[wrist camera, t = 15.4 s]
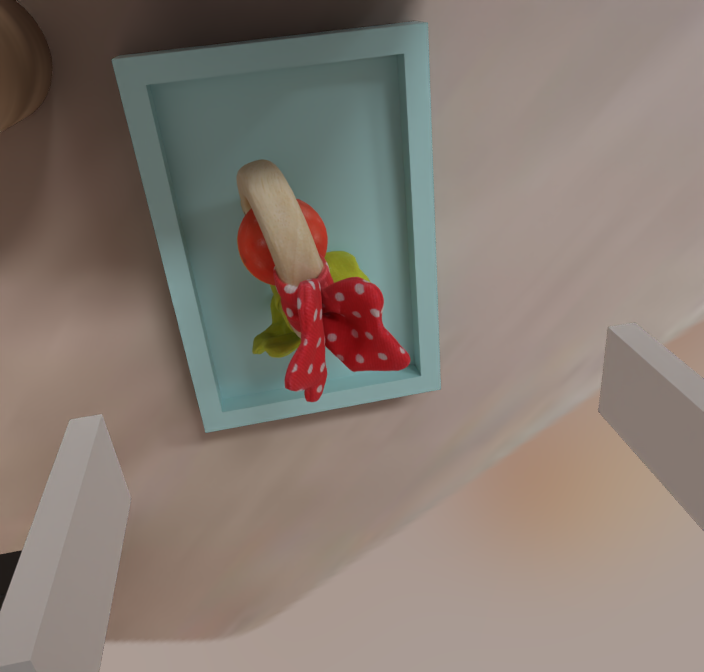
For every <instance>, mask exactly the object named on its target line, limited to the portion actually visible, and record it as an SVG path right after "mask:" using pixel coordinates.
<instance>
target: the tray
mask: <svg viewBox="0 0 704 672" xmlns="http://www.w3.org/2000/svg"><path fill="white" fill-rule="evenodd" d="M111 60H112V64H113V68H114V72H115V76H116V80H117V84H118V88H119V92H120V96H121V100H122V104H123V108H124V112H125V116H126V120H127V124H128V128H129V132H130V136H131V139H132V143H133V147H134V151H135V155H136V159H137V163H138V167H139V171H140V175H141V179H142V183H143V187H144V191H145V195H146V199H147V203H148V207H149V211H150V215H151V219H152V223H153V227H154V231H155V235H156V238H157V242H158V246H159V250H160V254H161V258H162V262H163V266H164V270H165V274H166V278H167V282H168V286H169V290H170V294H171V298H172V302H173V306H174V310H175V314H176V318H177V322H178V326H179V330H180V334H181V338H182V341H183V345H184V349H185V353H186V357H187V361H188V365H189V369H190V373H191V377H192V381H193V385H194V389H195V393H196V397H197V401H198V405H199V409H200V413H201V417H202V421H203V425H204V429H205V433H208V432H213V431H219V430H224V429H230V428H235V427H240V426H246V425H251V424H257V423H262V422H267V421H273V420H278V419H284V418H289V417H294V416H300V415H305V414H311V413H316V412H321V411H327V410H332V409H338V408H343V407H348V406H354V405H359V404H365V403H370V402H375V401H381V400H386V399H392V398H397V397H402V396H408V395H413V394H419V393H424V392H429V391H435V390H440V389H441V378H440V350H439V322H438V294H437V266H436V238H435V210H434V181H433V153H432V125H431V97H430V69H429V41H428V22H418V21H411V22H402V23H394V24H385V25H377V26H368V27H359V28H351V29H342V30H334V31H325V32H316V33H308V34H299V35H291V36H282V37H273V38H265V39H256V40H248V41H239V42H230V43H222V44H213V45H205V46H196V47H187V48H179V49H170V50H161V51H153V52H144V53H136V54H127V55H119V56H117V57H115V58H113V59H111ZM261 159H264V160H268V161H271V162H272V163H274V164H275V165H276V166H277V167H278V168H279V170H280V171H281V172H282V174H283V175H284V177H285V178H286V180H287V182H288V184H289V186H290V187H291V189H292V191H293V193H294V195H295V197H296V199H300V200H302V201H304V202H305V203H307V204H308V205H310V206H311V207H312V208H313V209H314V210H315V211H316V212H317V213H318V214H319V216H320V217H321V219H322V221H323V222H324V225H325V228H326V231H327V236H328V244H327V251H326V252H331V251H345V252H348V253H350V254H352V255H353V256H354V257H355V259H356V261H357V263H358V266H359V268H360V270H362V272H363V273H364V274H365V275H366V276H367V277H368V278H369V280H370V282H371V283H373V284H375V285H376V286H377V287H378V288H379V289H380V290H381V292H382V294H383V298H384V309H383V312H382V322H383V325H384V327H385V329H387V330H388V331H389V332H390V333H391V334H392V336H393V337H394V338H395V339H396V340H397V341H398V343H399V344H400V345H401V346H402V347H403V348H404V349H405V350H406V351H407V353H408V354H409V356H410V363H409V365H408V366H407V367H406V368H404V369H402V370H399V371H356V372H352V371H351V370H350V369H349V368H347V367H346V366H345V365H344V364H343V363H342V362H341V361H340V360H339V359H338V358H337V357H336V356H335V355H334V354H333V353H332V352H331V351H330V350H329V349H328V348H327V347H326V346H325V362H326V368H327V378H326V383H325V386H324V390H323V393H322V395H321V397H320V398H319V400H318V401H316V402H307V401H306V399H305V395H304V391H305V390H303V391H298V392H296V391H291V390H288V389H286V388H285V384H284V380H285V375H286V371H287V368H288V365H289V363H290V361H291V359H292V357H293V355H294V354H295V352H296V350H297V349H296V350H295V351H293V352H292V353H290V354H289V355H287V356H284V357H281V358H274V357H270V356H269V355H268V353H267V352H266V351H265V352H263V353H262V354H253V352H252V348H253V340H254V338H255V337H256V336H257V335H259V334H260V333H262V332H263V331H265V330H266V329H267V328H268V327H269V326H270V325H271V324H272V315H271V308H270V304H271V300H272V297H273V295H274V294H273V292H272V290H271V287H270V284H267V283H264V282H262V281H260V280H258V279H257V278H256V277H254V276H253V275H252V274H251V273H250V272H249V271H248V270H247V268H246V267H245V266H244V264H243V262H242V260H241V257H240V254H239V251H238V245H237V235H238V230H239V227H240V224H241V222H242V220H243V218H244V216H245V215H244V213H243V210H242V207H241V199H240V196H239V192H238V187H237V180H236V176H237V173H238V171H239V169H240V168H241V167H242V166H244V165H245V164H247V163H250V162H253V161H256V160H261Z"/></svg>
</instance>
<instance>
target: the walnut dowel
mask: <svg viewBox="0 0 704 672" xmlns="http://www.w3.org/2000/svg"><path fill="white" fill-rule="evenodd" d="M51 79H52V60H51V55H50V50H49V47H48V44H47V41H46V39H45V37H44V35H43V33H42V31H41V29H40V28H39V26H38V25H37V23H36V22H35V20H34V19H33V18H32V17H31V15H30V14H29V13H28V12H27V11H26V10H25V9H24V8H23V7H22V6H21V5H20V4H18V3H17V2H16V1H15V0H0V133H1V132H2V131H4V130H6V129H7V128H9V127H11V126H12V125H14V124H16V123H17V122H19V121H21V120H22V119H24V118H26V117H27V116H29V115H30V114H32V113H33V112H34V111H35V110H36V109H37V108H38V107H39V106H40V105H41V104H42V102H43V101H44V99H45V97H46V95H47V93H48V91H49V88H50V85H51Z"/></svg>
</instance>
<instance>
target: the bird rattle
mask: <svg viewBox="0 0 704 672" xmlns="http://www.w3.org/2000/svg"><path fill="white" fill-rule="evenodd" d="M236 180H237V187H238V192H239V196H240V199H241V207H242V210H243V213H244V215H245V216H244V218H243V220H242V222H241V224H240V227H239V230H238V235H237V245H238V251H239V254H240V257H241V260H242V262H243V264H244V266H245V267H246V268H247V270H248V271H249V272H250V273H251V274H252V275H253V276H254V277H256V278H257V279H258V280H260V281H262V282H264V283H267V284H270V287H271V290H272V292H273V294H274V295H273V297H272V300H271V304H270V308H271V315H272V324H271V325H270V326H269V327H268V328H267V329H266V330H265V331H263V332H262V333H260V334H259V335H257V336H256V337H255V338H254V340H253V348H252V352H253V354H262V353H263V352H265V351H266V352H267V353H268V355H269V356H270V357H274V358H281V357H284V356H287V355H289V354H290V353H292V352H293V351H295V350H296V349H297V350H296V352H295V354H294V355H293V357H292V359H291V361H290V363H289V365H288V368H287V371H286V375H285V380H284V384H285V388H286V389H288V390H291V391H296V392H298V391H303V390H305V391H304V395H305V399H306V401H307V402H316V401H318V400H319V398H320V397H321V395H322V393H323V390H324V386H325V383H326V378H327V368H326V362H325V346H326V347H327V348H328V349H329V350H330V351H331V352H332V353H333V354H334V355H335V356H336V357H337V358H338V359H339V360H340V361H341V362H342V363H343V364H344V365H345V366H346V367H347V368H349V369H350V370H351V371H352V372H356V371H399V370H402V369H404V368H406V367H407V366H408V365H409V363H410V356H409V354H408V353H407V351H406V350H405V349H404V348H403V347H402V346H401V345H400V344H399V343H398V341H397V340H396V339H395V338H394V337H393V336H392V334H391V333H390V332H389V331H388V330H387V329H385V327H384V325H383V322H382V312H383V309H384V298H383V294H382V292H381V290H380V289H379V288H378V287H377V286H376V285H375V284H373V283H371V282H370V280H369V278H368V277H367V276H366V275H365V274H364V273H363V272H362V270H360V268H359V266H358V263H357V261H356V259H355V257H354V256H353V255H352V254H350V253H348V252H345V251H331V252H326V251H327V244H328V236H327V231H326V228H325V225H324V222H323V221H322V219H321V217H320V216H319V214H318V213H317V212H316V211H315V210H314V209H313V208H312V207H311V206H310V205H308V204H307V203H305V202H304V201H302V200H300V199H296V197H295V195H294V193H293V191H292V189H291V187H290V186H289V184H288V182H287V180H286V178H285V177H284V175H283V174H282V172H281V171H280V170H279V168H278V167H277V166H276V165H275V164H274V163H272V162H271V161H268V160H264V159H261V160H256V161H253V162H250V163H247V164H245V165H244V166H242V167H241V168H240V169H239V171H238V173H237V176H236Z"/></svg>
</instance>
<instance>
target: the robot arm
mask: <svg viewBox="0 0 704 672" xmlns="http://www.w3.org/2000/svg"><path fill="white" fill-rule="evenodd" d="M598 412H599V413H600V414H601V415H602V416H603V417H604V419H605V420H606V421H607V422H608V423H609V424H610V425H611V426H612V428H613V429H614V430H615V431H616V432H617V433H618V435H619V436H620V437H621V438H622V439H623V440H624V441H625V442H626V444H627V445H628V446H629V447H630V448H631V449H632V450H633V452H634V453H635V454H636V455H637V456H638V457H639V458H640V459H641V461H642V462H643V463H644V464H645V465H646V466H647V467H648V469H650V471H651V472H652V473H653V474H654V475H655V476H656V478H657V479H658V480H659V481H660V482H661V483H662V484H663V485H664V487H665V488H666V489H667V490H668V491H669V492H670V494H672V496H673V497H674V498H675V499H676V500H677V501H678V503H679V504H680V505H681V506H682V507H683V508H684V509H685V511H686V512H687V513H688V514H689V515H690V516H691V517H692V519H693V520H694V521H695V522H696V523H697V524H698V525H699V526H700V528H701V529H702V530H703V531H704V378H703V377H701V376H700V375H699V374H698V373H696V372H695V371H694V370H693V369H691V368H690V367H689V366H688V365H687V364H685V363H684V362H683V361H682V360H680V359H679V358H678V357H677V356H676V355H674V354H673V353H672V352H671V351H669V350H668V349H667V348H666V347H664V346H663V345H662V344H661V343H660V342H658V341H657V340H656V339H655V338H653V337H652V336H651V335H650V334H649V333H647V332H646V331H645V330H644V329H642V328H641V327H640V326H639V325H637V324H636V323H635V322H634V323H628V324H622V325H617V326H611V327H608V330H607V339H606V347H605V356H604V365H603V374H602V382H601V391H600V400H599V408H598ZM130 503H131V496H130V493H129V490H128V487H127V484H126V481H125V479H124V476H123V473H122V470H121V467H120V464H119V461H118V458H117V456H116V453H115V450H114V447H113V444H112V441H111V438H110V435H109V432H108V430H107V427H106V424H105V421H104V418H103V415H102V414H99V415H93V416H87V417H82V418H76V419H70V420H69V423H68V426H67V429H66V431H65V434H64V437H63V440H62V442H61V445H60V448H59V451H58V453H57V456H56V459H55V462H54V465H53V467H52V470H51V473H50V476H49V478H48V481H47V484H46V487H45V489H44V492H43V495H42V498H41V500H40V503H39V506H38V509H37V511H36V514H35V517H34V520H33V522H32V525H31V528H30V531H29V533H28V536H27V539H26V542H25V544H24V547H23V550H22V551H16V552H11V553H6V554H1V555H0V672H99V670H100V665H101V659H102V654H103V649H104V643H105V638H106V632H107V627H108V622H109V616H110V611H111V605H112V600H113V595H114V589H115V584H116V579H117V573H118V568H119V562H120V557H121V552H122V546H123V541H124V535H125V530H126V525H127V519H128V514H129V509H130Z"/></svg>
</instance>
